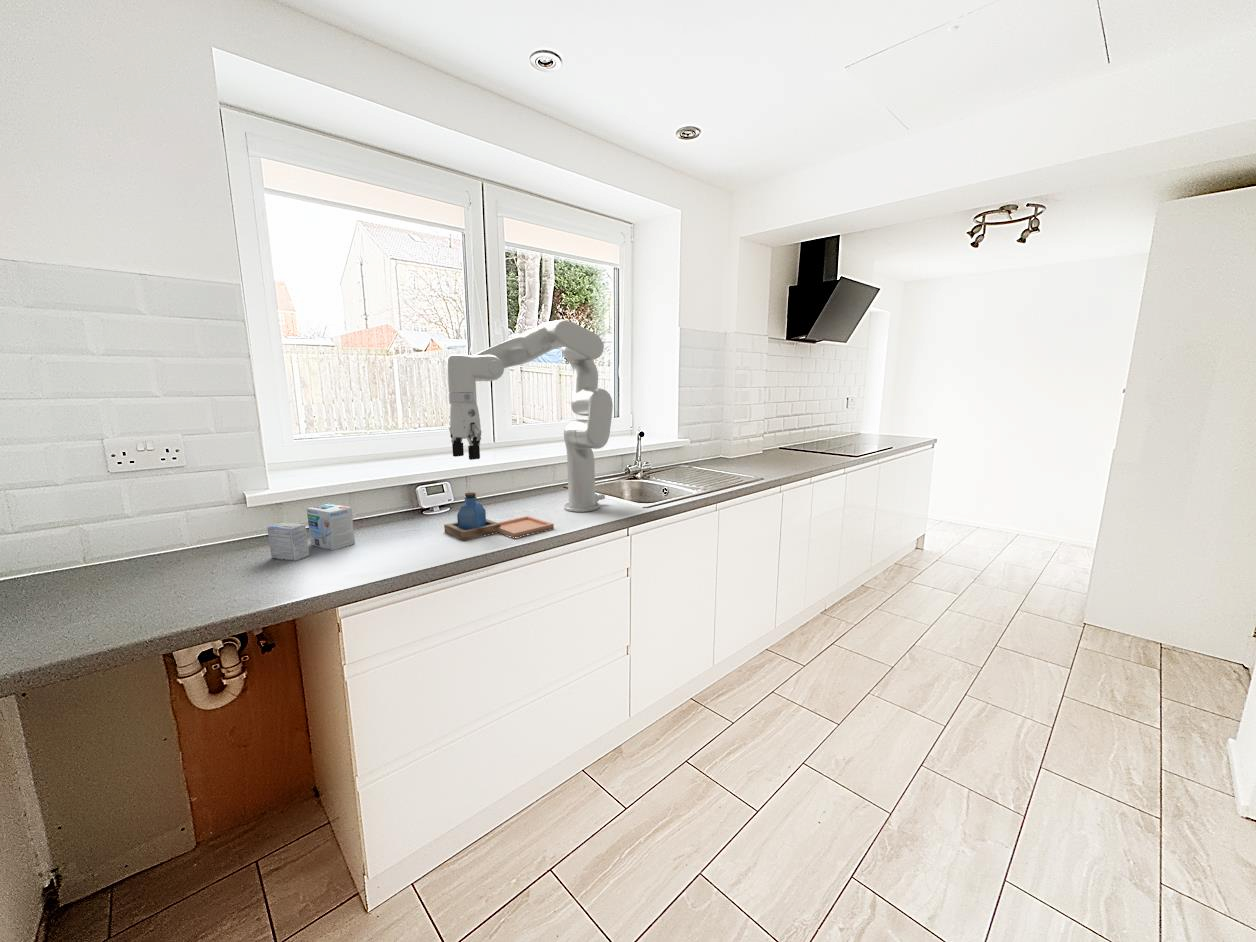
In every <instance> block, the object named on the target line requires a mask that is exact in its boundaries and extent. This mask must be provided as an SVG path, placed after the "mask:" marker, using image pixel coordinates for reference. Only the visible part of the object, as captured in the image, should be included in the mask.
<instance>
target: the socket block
mask: <svg viewBox="0 0 1256 942" xmlns="http://www.w3.org/2000/svg"><path fill="white" fill-rule="evenodd" d="M498 527H501V525H500V524H499V523H498V522H496V521H493V520H491V519H488V518H486V526H482V527H478V528H473V529H469V530H464V529H461V528H459V527H458V521H454V522H450V523H445V524H443V529H444V534H447V535H450V536H452V537H453V538H454V537H455V538H457V539H458V538H459V540H461V541H464V542H465V541H468V539H469V540H473V539H478V538H481V537H480V536H482V537H485V536H484V535H486V536H489V535H488V534H490V535H493V534H492V533H494V534H497V533H496V532H498ZM477 537H478V538H477Z"/></svg>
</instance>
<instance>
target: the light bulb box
mask: <svg viewBox="0 0 1256 942" xmlns="http://www.w3.org/2000/svg"><path fill="white" fill-rule="evenodd" d="M306 514H307V521H308V531H309V539H310V540H309V541H310V545H311V546H314V545H315V546H314V547H317V548H318V547H319V548H322V549H326V550H329V549H330V550H331V551H336V550H339V549H343V548H346V547H349V545H350V546H353V545H355V544H356V541H355V540H356V539H355V529H354V521H353V520H354V519H353V509H352V507H351V506H346V505H340V504H332V503H326V504H321V505H316V506H311V507H306ZM352 544H353V545H352ZM345 546H346V547H345ZM342 547H343V548H342ZM338 548H339V549H338ZM335 549H336V550H335Z"/></svg>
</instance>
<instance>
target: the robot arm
mask: <svg viewBox="0 0 1256 942" xmlns="http://www.w3.org/2000/svg"><path fill="white" fill-rule="evenodd" d="M555 349H561V353H562V355H563V357H565V359H566V360H567V361H568V362H569V364H570V366H571V368H572V372H573V382H572V383H573V384H572V392H571V401H570V406H571V410H572V412H573V413H574V414H575V415H577V416H582V417H587V419H579V418H578V419H573V420H570V421H569V422H567V424H566V425H565V427H564V430H563V439H564V444H565V448H566V456H567V457H566V458H567V461H566V462H567V489H568V492H567V493H568V494H567V495H568V497H567V498H568V503H565V504H564V510H566V511H568V512H573V513H574V512H575V513H576V512H577V513H583V512H591V511H592V512H593V511H596V510H598V509H599V508H600V506H601V504H600V503H598V502H599V501H600V500H601V501H602V500H605V499H606V495H605V494H604V493H601V494H597V493H596V477H595V474H596V472H595V470H596V469H595V456H594V452H593V449H595V450H599V449H602V448H603V447H605V446H606V444H607V443H608V442H609V438H610V433H611V426H612V418H613V417H612V416H613V409H614V408H613V407H614V405H613V400H612V399H613V398H612V396H611V394H610V393H609V392H608V391H607V390H606V389H604V388H598V387H599V386H598V383H599V371H598V368H597V366H596V364H595V362H594V360H597V359H598V358H600V357H601V356H602V354H603V352H604V342H603V340H602V338H601V337H600V336H599V335H598V334H597V333H595V332H593V331H591V330H590V329H587V328H586V327H583V326H581V325H579V324H577V323H576V322H575V323H574V322H572V321H570V320H567V319H558V320H551V321H547V322H544V323H542V324H539V325H537V326H535V327H534V328H532V329H529V330H527V331H525V332H522V333H520V334H518V335H516V336H514V337H512V338H510V339H507V340H505V341H503V342H500V343H498V344H496V345H492V346H490V347H488V348H486V349H483V350H482V351H479V352H477V353H475V354H473V355H470V354H469V355H468V354H450V355H448V356H447V358H446V368H447V369H446V370H447V384H448V401H449V402H448V403H449V405H450V411H449V412H450V413H449V415H450V419H449V420H450V426H449V428H448V430H449V433H450V438H451V440H450V441H451V446H452V447H451V448H452V456H453V457H464V455H465V453H464V452H465V451H464V442H462V441H463V440H465V439H466V441H467V442H468V444H469V445H468V446H467V448H468V449H467V450H468V460H470V461H473V460H479V459H480V458H481V453H480V452H481V449H480V445H481V440H482V438H481V437H482V429H481V418H480V413H479V406H478V404H477V403H478V402H477V401H478V400H477V386H476V385H477V383H476V382H494V381H497V380H499V379H500V378H501V377H502V376H503V374H504V372H505V369H507V368H510V367H516V366H520V365H523V364H524V365H525V364H528V363H529V362H532V361H534V360H535V359H537V358H539V357H541V356H543V355H546V354H547V353H549V352H550V351H552V350H555Z"/></svg>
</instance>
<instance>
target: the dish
mask: <svg viewBox="0 0 1256 942" xmlns="http://www.w3.org/2000/svg"><path fill="white" fill-rule="evenodd" d="M497 523H499V524H500V525H501V527H498V532H499V533H498V534H500V533H502V534H501V535H503V534H505V535H508V536H511V537H514V538H515V537H520V536H523V535H527V534H531V535H533V534H532V533H535V534H538V533H537V532H539V533H542V532H541V531H543V532H546V531H545V530H547V531H550V530H549V529H551V530H554V529H555V528H554V525H555V524H554V523H553V522H548V521H546V520H543V519H539V518H536V517H533V516H529V515H526V516H521V517H516V518H512V519H508V520H502V521H498V522H497ZM505 535H504V536H505ZM508 536H507V537H508ZM527 536H528V535H527ZM511 537H510V538H511ZM523 537H524V536H523ZM520 538H521V537H520Z"/></svg>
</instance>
